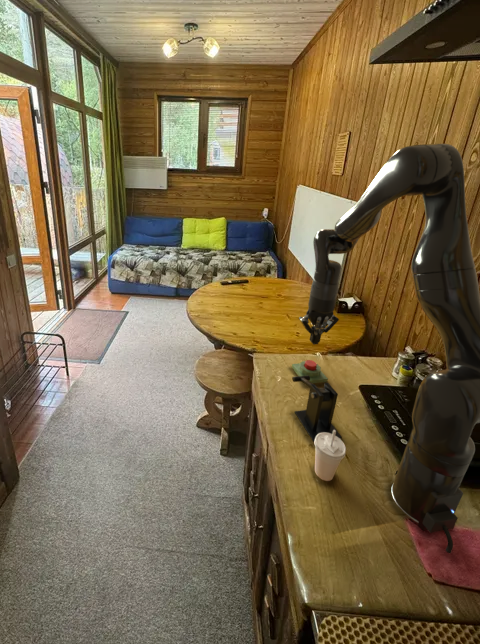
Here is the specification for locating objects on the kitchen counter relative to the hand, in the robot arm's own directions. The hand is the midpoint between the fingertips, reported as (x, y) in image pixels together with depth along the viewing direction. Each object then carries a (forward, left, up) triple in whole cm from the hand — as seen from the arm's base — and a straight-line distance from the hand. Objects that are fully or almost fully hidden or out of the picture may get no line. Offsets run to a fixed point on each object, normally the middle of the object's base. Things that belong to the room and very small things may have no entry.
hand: (314, 343), depth 99 cm
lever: (-16, +9, -5) cm, 18 cm away
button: (0, 0, -9) cm, 10 cm away
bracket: (-20, +9, -13) cm, 26 cm away
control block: (0, 0, -13) cm, 13 cm away
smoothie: (-33, +15, -13) cm, 39 cm away
